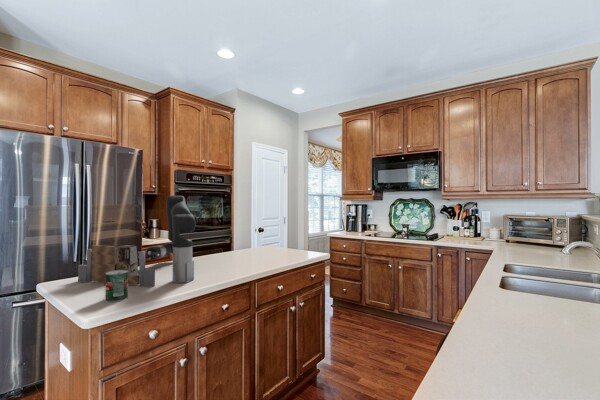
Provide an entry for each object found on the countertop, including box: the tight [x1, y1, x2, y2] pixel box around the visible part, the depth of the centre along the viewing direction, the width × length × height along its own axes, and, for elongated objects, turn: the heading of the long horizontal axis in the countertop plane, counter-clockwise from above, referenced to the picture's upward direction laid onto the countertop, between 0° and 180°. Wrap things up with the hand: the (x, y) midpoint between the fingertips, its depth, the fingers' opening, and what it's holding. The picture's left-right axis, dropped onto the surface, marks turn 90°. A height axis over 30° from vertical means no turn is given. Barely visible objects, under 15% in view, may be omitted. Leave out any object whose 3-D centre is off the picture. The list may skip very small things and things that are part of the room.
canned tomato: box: [104, 269, 129, 303], centre depth 121 cm, size 8×8×11 cm
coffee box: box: [114, 244, 139, 275], centre depth 155 cm, size 9×6×16 cm
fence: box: [77, 248, 156, 288], centre depth 142 cm, size 42×2×16 cm, turn 78°
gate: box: [91, 244, 139, 286], centre depth 142 cm, size 26×1×18 cm, turn 78°
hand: (135, 257), depth 161 cm, fingers open, 8 cm apart
